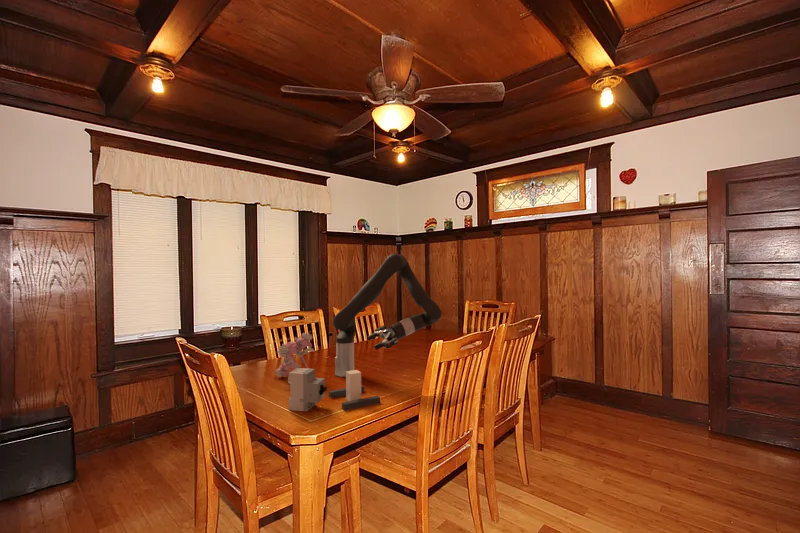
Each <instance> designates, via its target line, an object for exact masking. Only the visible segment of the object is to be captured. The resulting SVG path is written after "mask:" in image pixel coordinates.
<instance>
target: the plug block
mask: <svg viewBox="0 0 800 533" xmlns="http://www.w3.org/2000/svg"><path fill="white" fill-rule="evenodd" d="M361 385H362V372H361V371H359V370H358V369H354V370H352V371H346V377H345V388H346V395H345V398H346V400H347V402H348V401H353V400H358V399H362V392H361Z"/></svg>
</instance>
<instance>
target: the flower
mask: <svg viewBox="0 0 800 533" xmlns="http://www.w3.org/2000/svg"><path fill="white" fill-rule="evenodd" d="M310 333H311V330H309V333H308V332H306V333H305V332H304V331H303V333H301V335H300V336H298V337H296V336H295V337H294V338H293V340H294V341H288V342H286V343H282V345H281V346H278V348H279V349H278V350H277V351H276V353H277V354H279V357H281V358H284V360H282V363H281V364H280V365H279V367H278V368H276V369H275V370H274V372H275V376H276V377H279V378H282V377H284V376H285V377H289V373H290V369H293V370H295V369H296V368H301V367H302V365H301V364H300V363H297V360H296V359H294V355H296V356H297V357H299V358H300V360H301V362H302V363H303V364H304V366H305V367H306V368H309V365H308V364H307V362H306V360H305V358H304V355H307V356H309V354H308V352H310V353H311V352H314V353H316V351H315V349H314V348H312V347H313V345H312V343H311V341H312V339H313V334H310ZM306 347H307V348H306ZM302 368H303V367H302ZM309 369H310V368H309Z"/></svg>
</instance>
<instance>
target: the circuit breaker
mask: <svg viewBox="0 0 800 533" xmlns="http://www.w3.org/2000/svg"><path fill="white" fill-rule="evenodd" d="M315 370H316V369H315V368H307V367H306V368H304V367H302V368H301V367H298V368H296V369H293V370H292V371H289V372H288V373H289V376H287V382H288V384H289V386H290V390H289V392H290V393H289V394H290V396H289V398H288V411H295V412H308V411H309V410H311V409H312V408H313V407H314V406H315V405H316V403H317V404H318V403H319V402H320V401H322V399H323V398H325V397H326V391H327V390H328V387H327V386H326V378H325V377H316V371H315Z"/></svg>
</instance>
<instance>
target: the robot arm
mask: <svg viewBox="0 0 800 533" xmlns="http://www.w3.org/2000/svg"><path fill="white" fill-rule="evenodd" d="M396 273H397V274H398V275H399V276H400V277H401V278H402V280H403V281H404V283H405V285H406V288H407V290H408V292H409V294H410V296H411V298H412V299H413V300H414V302H415V303H416V305H417V306H418V307H419V308H422V309H423V310H424V312H422V313H420V314H419V313H417V314H414V315H412V316H409V317H407V318H403V319H402V320H400V321H397V322H395V323H393V324H391V325H390V327H387V325H386V324H385V325H383V326H380V327H377V328H374V332H373V333H371V334H369V335H368V336H367V339H368V341H372V340H374V339H376V338H382V339H383V340H382V341H380V342H377V343H376V344H374V345H373V347H374V349H375V351H376V350H377V351H378V350H379V349H382V348H386V349H389V348H390V349H391V347H393V346H396V345H397V344H399V342H398V341H399V340H401V339H403V338H406V337H407V336H409V335H412V334H413V333H414V332H417V331H419V330H421V329H423V328H426V327H429V326H431V325H434V324H436V323H437V322H438V321H439V320H440V319H441V317H442V313H443V312H442V310H441V307H440V306H439V305H438V304H437V303H436V302H435V301H434V300H433V299H432V298H431V297H430V296H429V295H428V293H427V291H426V290H425V289H424V287H423V286H422V285H421V283H420V281H419V280H418V278H417V277H416V276H415V273H414V272H413V270H412V268H411V265H410V264H409V262H408V259H407V258H406V257H405V256H404V255H402V254H398V253H392V254H390V255H388V256H387V257H386V258H385V259H384V261H383V262H382V264H381V265H380V267H379V268H378V269H377V271H376V272H375V273H374V274H373V275H372V276H371V277H369V279H368V280H367V281H366V282H364V285H362V287H361V288H360V289H359V290H358V291H357V293H355V295H354V296H353V297H352V298H351V299H350V301H349V302H348V303H347V304H346V305H345V306H344V307H343V308H341V309H340V311H339V312H337V313H336V314H335V315H334V317H333V320H332V323H333V327H334V328H335V329H336V330H338V331H339V332H338V334H337V336H336V338H335V340H336V342H335V343H336V347H335V350H336V351H335V352H336V354H335V355H336V356H335V357H334V376H337V377H343V378H346V371H352V370H355V338H356V337H355V336H356V316H357V315H358V314H359V313H361V312H362V311H363V310H365V309H366V308H367V307H369V306H370V305H371V304H372V303H373V302H375V300H376V299H377V298H378V297H379V295H380V294H381V293H382V291H383V290H384V289H383V288H384V287H385V285H386V284H387V282H388V280H390V278H392V277H393V275H395V274H396Z"/></svg>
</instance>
